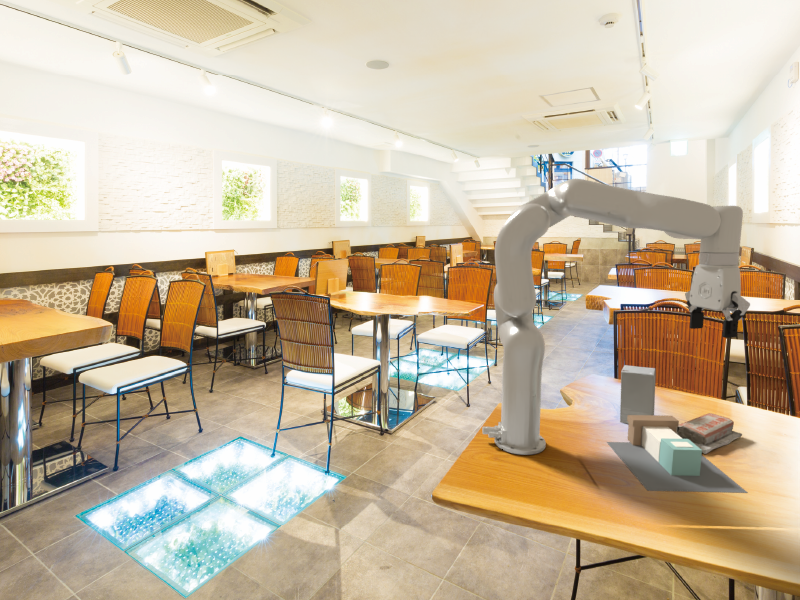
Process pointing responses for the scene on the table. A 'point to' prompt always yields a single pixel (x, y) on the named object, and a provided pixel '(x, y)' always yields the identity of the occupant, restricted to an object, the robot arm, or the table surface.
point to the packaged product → (708, 431)
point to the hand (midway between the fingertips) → (712, 332)
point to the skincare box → (637, 391)
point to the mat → (662, 480)
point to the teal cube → (680, 457)
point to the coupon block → (651, 431)
